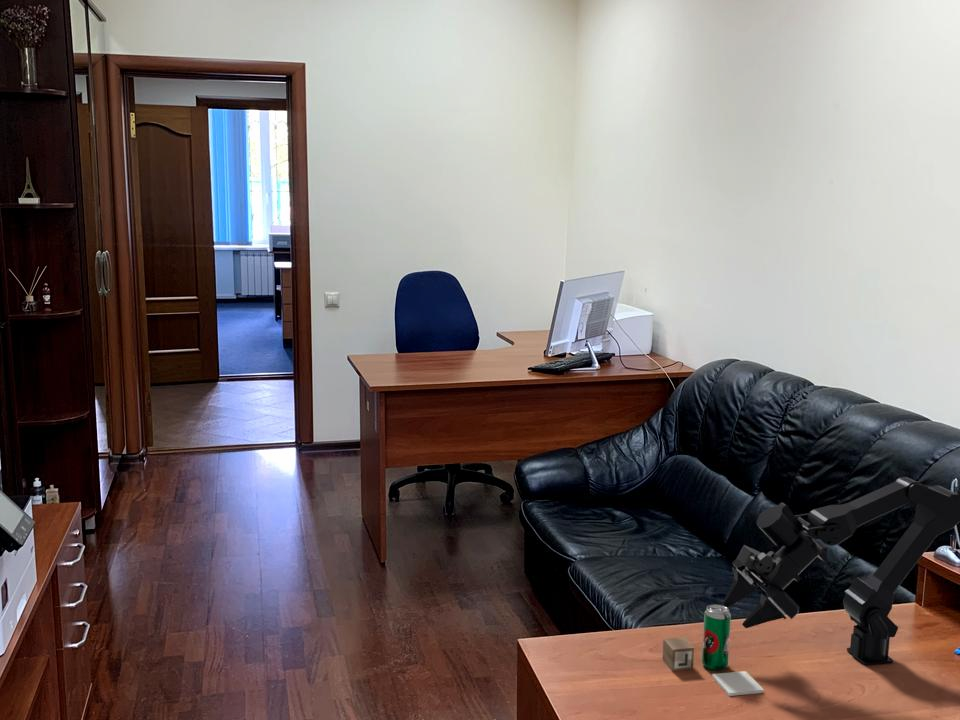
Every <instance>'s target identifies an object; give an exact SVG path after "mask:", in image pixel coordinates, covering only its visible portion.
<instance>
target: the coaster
mask: <svg viewBox="0 0 960 720" xmlns="http://www.w3.org/2000/svg"><path fill="white" fill-rule="evenodd" d="M711 678H712V679H713V680H714V681H715V682H716V683H717V685H718V686H719V687H720V688H721V689H722V690H723V691H724V690H725V691H724V692H725V694H726V695H728V697H732V696H733V697H734V696H740V695H742V696H743V695H752V694H762V693H764V691H765V690H764V689H763V687H762V686H761V685H760V684H759V683H758V682H757V681H756V680H755V679H754V678H753V677H752V676H751V675H750V674H749V673H748V672H747V671H746V670H743V671H733V672H732V671H731V672H721V673H720V672H719V673H712V674H711Z"/></svg>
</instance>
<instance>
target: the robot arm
mask: <svg viewBox="0 0 960 720" xmlns="http://www.w3.org/2000/svg"><path fill="white" fill-rule="evenodd" d="M913 502H915V503H916V505H915V513H914V519H913V521H912V522H911V524H910V525H909V527H908V528H907V529H906V530H905V532H904V533H903V534H902V536H901V537H900V539H899V540H898V541H897V543H896V544H895V545H894V547H893V548H892V549H891V550H890V552H889V553H887V556H885V559H884V560H883V561H882V562H881V564H880V565H879V566H878V568H877V569H876V570H875V571H874V573H873V574H872V575H871V576H870V577H868V578H866V579H865V578H864V580H863V579H861V578H860V577H858V576H857V577H856V578H855V579H854V580H853V582H852V583H851V585H850V586H849V587H848V588H847V589H846V590H844V593H845V595H844V597H843V599H842V603H843V608H844V610H845V612H846V613H847V614H848V616H849V618H850V619H849V620H851V621H853V622H854V623H855V624H854V625H853V629H852V633H851V634H850V637H851V638H850V646H849V647H846V651H847V652H848V653H849V654H851V655H852V656H853V657H854V658H856V659H857V660H858V661H859V662H860V663H862V664H863V665H864V666H865V665H866V666H870V665H880V664H881V665H882V664H891V663H894V659H893V658H892V657H890V656H889V651H890V650H889V649H890V640H891V638H895V637H896V634H897V632H898V630H899V626H897V625H896V624H895V622H893V621H892V619H890V618H889V617H888V616H889V614H890V612H891V611H892V609H893V602H894V595H895V592H896V590H897V589H898V588H899V586H900V585H901V584H902V583H903V581H904V580H905V579H906V578H907V576H908V575H909V573H910V572H911V571H912V570H913V568H914V567H915V565H917V563H918V562H919V561H920V559H921V558H922V557H923V555H924V553H925V552H926V551H928V549H929V547H930V546H931V545H932V543H933V542H934V540H935V539H936V538H937V537H938V536H939V535H941V534H944V533H945V532H947V531H950V530H952V529H954V528H955V527H956V526H957V525H958V524H959V523H960V494H958V493H957V492H954V491H952V490H950V489H948V488H945V487H943V486H941V485H932V486H927V485H926V484H923V483H921V482H918V481H916V480H915V479H912V478H909V477H907V476H902V477H899V478H897V479H896V480H895V481H893V482H892V483H889V484H886V485H884V486H883V487H881V488H878V489H875V490H874V491H872V492H870V493H866V494H865V495H862V496H859V497H858V498H856V499H853V500H851V501H849V502H847V503H843V504H830V505H826V506H822V507H818V508H814V509H812V510H811V511H809V512H807V513H802V514H796V515H795V514H794V513H793V511H792V509H790V507H789V506H788V505H787V504H786V503H784V502H780V503H779V504H778V505H774V506H771V507H769V508H767V509H764V510H763V511H762V512H761V513H760V514H759V515H758V517H757V519H756V525H757V527H758V528H759V529H760V530H761V531H762V532H763V533H764V535H766V537H767V538H769V540H770V541H771V542H772V543H773V544H774V545H775V546H776V547H780V549H779V550H777V551H776V552H775V551H774V550H771V551H770V550H769V551H768V552H767V553H765V552H760V551H758V550H757V549H755V548H752V547H749V546H747V545H745V544H743V546H742V547H741V549H740V552H739V554H738V555H737V556H736V558H735V559H734V560H733V561H732V562H731V564H732V565H733V566H732V571H733V581H732V584H731V586H730V588H729V589H728V592H727V594H726V596H725V598H724V600H723V602H722V606H725V607H727V608H729V607H731V606H733V605H735V604H737V603H738V602H740V601H742V600H743V599H745V598H746V597H748V596H750V595H753V593H755V592H756V591H757V589H756V588H761V589H762V590H763V591H764V593H765V594H764V593H763V592H760V598H759V603H758V604H757V605H756V607H755V608H754V609H753V610H752V612H750V613H749V615H748V616H747V617H746V618H745V619H744V621H743V622H742V626H743V627H744V628H745V629H748V628H749V629H750V628H751V627H755V626H759V625H761V624H765V623H768V622H772V621H777V620H781V619H783V620H786V619H787V617H788V618H789V619H791V620H793V619H794V618H795V617H796V616H797V615H798V614H799V612H800V606H799V604H797V603H796V601H795V600H794V599H793V598H792V597H791V596H790V595H789V594H788V593H787V592H786V591H785V589H786V588H787V587H788V586H790V584H791V583H792V582H793V581H796V582H797V583H799V581H801V579H803V578H802V577H801V576H800V574H801V573H802V572H803V571H804V570H805V569H806V568H808V566H809V565H810V564H811V563H813V561H815V559H816V558H818V559H820V560H821V561H823V562H824V563H827V562H828V561H829V559H828V558H829V557H828V548H827V547H826V546H825V545H827V546H830V547H833V546H837V545H840V544H841V543H842V542H844V541H845V540H847V539H848V538H850V537H852V536H853V535H854V534H855V531H856V530H857V528H859V527H861V526H862V525H864V524H866V523H868V522H870V521H873V520H875V519H877V518H879V517H881V516H884V515H886V514H888V513H890V512H893V511H895V510H897V509H899V508H901V507H903V506H905V505H908V504H910V503H913ZM803 532H804V533H805V534H806V535H804V534H803ZM814 539H815V540H814ZM816 540H818V541H820V542H821V543H823V544H825V545H823V544H818V543H817V542H816ZM766 595H767V596H768V597H767V596H766Z"/></svg>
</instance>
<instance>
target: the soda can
mask: <svg viewBox="0 0 960 720" xmlns="http://www.w3.org/2000/svg"><path fill="white" fill-rule="evenodd" d="M703 615H704V616H703V630H702V631H703V635H702V637H703V638H702V649H701V650H702V653H701V663H702V665H703V666H704V667H705V668H706V669H707V670H710V671H713V672H714V671H715V672H721V671H724V670H726V669H727V668H728V667H729V659H730V658H729V656H730V655H729V654H730V653H729V652H730V642H731V641H730V638H731V637H730V636H731V622H732V615H731V613H730V609H729V607H725V606H724V605H723V604H722V605H721V604H709V605H707V606H706V609H705V611H704V614H703Z"/></svg>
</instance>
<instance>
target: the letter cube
mask: <svg viewBox="0 0 960 720" xmlns="http://www.w3.org/2000/svg"><path fill="white" fill-rule="evenodd" d="M662 641H663V643H662V645H663V646H662V661H663V662H664V663H665V665H666V666H667V667H668V668H669V670H670V671H673V672H674V671H683V670H693V669H694V660H695V659H694V657H695V647H694V646H693V645H692V644H691V643H690V642H689V641H688V639H686V637H685V636H684V637H674V638H663V640H662Z"/></svg>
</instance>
